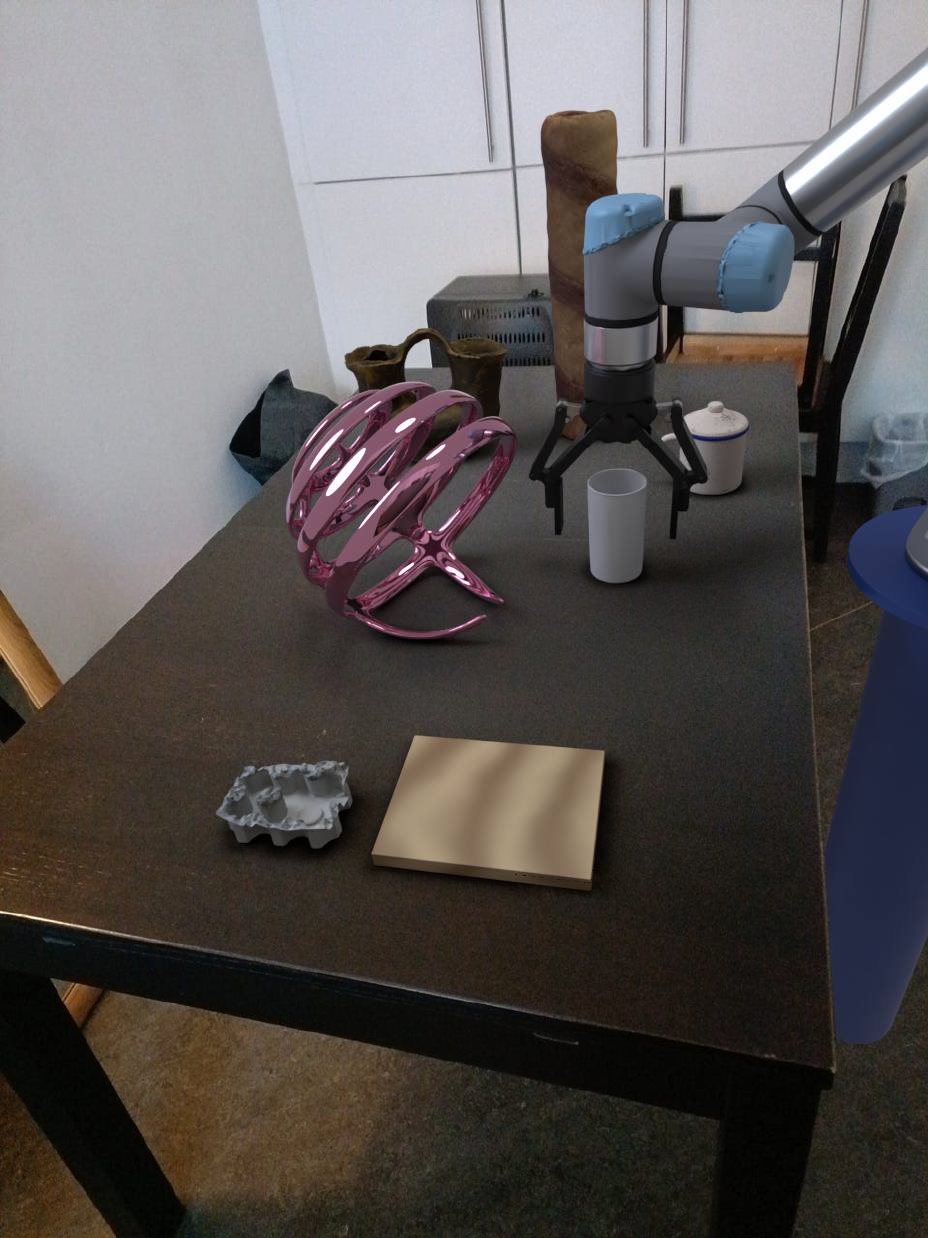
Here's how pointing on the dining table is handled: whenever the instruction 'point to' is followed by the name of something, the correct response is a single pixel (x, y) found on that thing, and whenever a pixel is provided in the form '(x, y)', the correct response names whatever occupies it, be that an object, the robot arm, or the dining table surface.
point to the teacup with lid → (717, 446)
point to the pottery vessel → (470, 370)
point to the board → (495, 812)
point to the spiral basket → (392, 497)
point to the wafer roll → (573, 231)
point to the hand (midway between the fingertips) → (615, 531)
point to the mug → (616, 524)
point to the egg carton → (288, 802)
